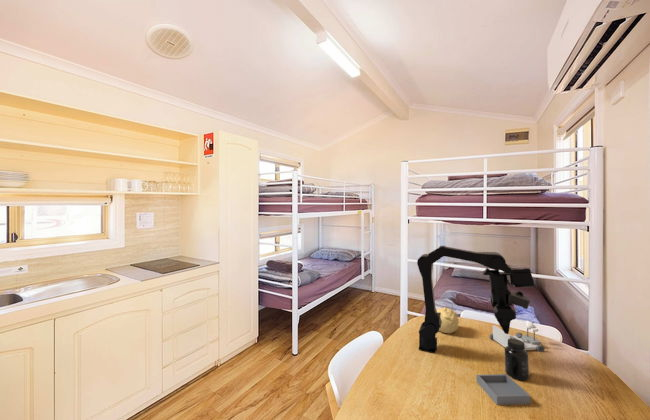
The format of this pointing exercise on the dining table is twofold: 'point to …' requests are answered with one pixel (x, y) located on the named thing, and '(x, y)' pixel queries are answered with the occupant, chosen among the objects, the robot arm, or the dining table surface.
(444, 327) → the sculpture
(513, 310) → the robot arm
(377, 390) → the dining table surface
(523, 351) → the supplement bottle
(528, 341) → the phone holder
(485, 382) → the holder tray
